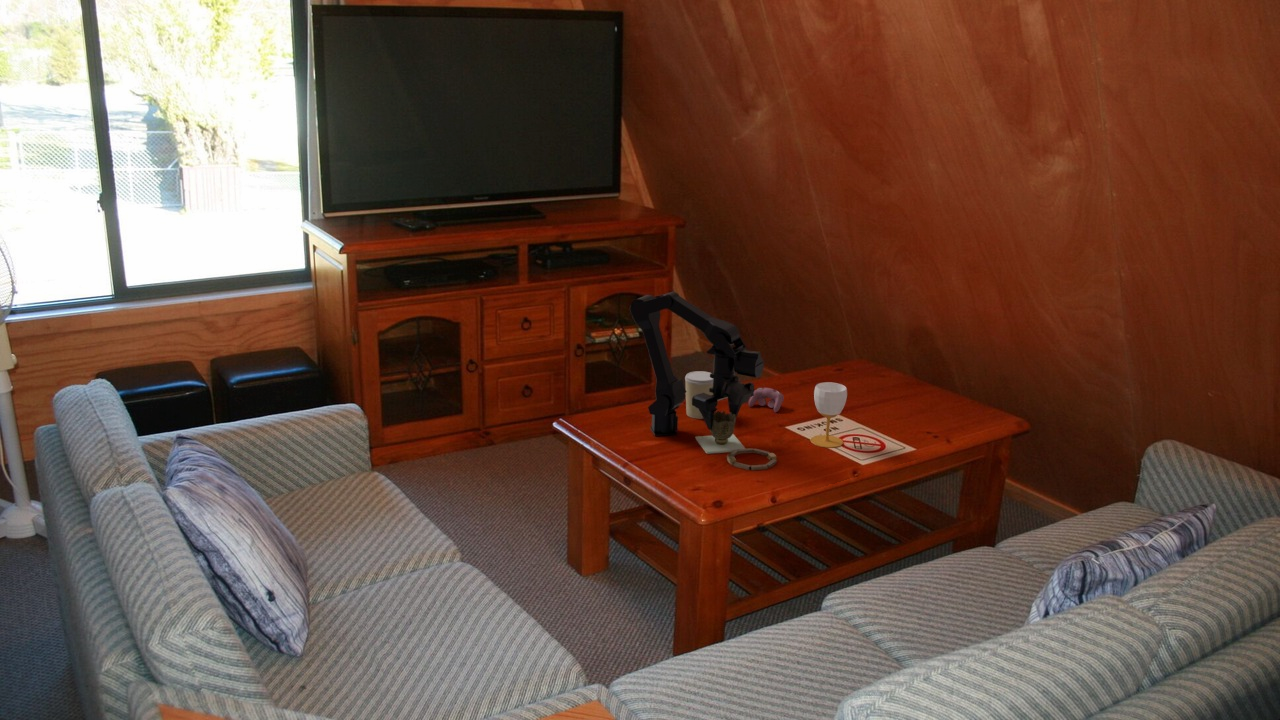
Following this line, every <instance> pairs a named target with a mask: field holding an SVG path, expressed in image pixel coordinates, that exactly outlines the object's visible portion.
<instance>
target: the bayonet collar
mask: <svg viewBox="0 0 1280 720" xmlns="http://www.w3.org/2000/svg"><path fill="white" fill-rule="evenodd" d="M751 453H752V454H758V455H761V456H764V457H765V456H766V458H767V459H768V460H769V461H768V462H767V463H765V464H757V465H756V464H754V465H753V464H752V465H750V464H745V463H742V462H738V461H737V459H736V457H735V456H737V455H739V454H751ZM726 460H727V462H728V463H729V464H730V465H731V466H733V467H735V468H740V469H742V470H743V469H744V470H747V471H750V470H751V471H758V470H759V471H760V470H768V469H771V468H772V467H773V466H775V465H776V464H777V463H778V459H777V455H776V454H775V453H774V452H770V451H768V450H763V449H758V448H752V447H751V448H749V447H748V448H745V449H737V450H734V451H732V452H728V454H727V455H726Z"/></svg>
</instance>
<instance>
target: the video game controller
mask: <svg viewBox="0 0 1280 720" xmlns="http://www.w3.org/2000/svg"><path fill="white" fill-rule="evenodd" d="M766 398H767V399H770V400H769V401H768V402H767V399H766ZM784 400H785V399H784V395H783V394H782V393H781V392H779V391H778V390H776V389H773V388H771V387H758V388H757V389H754V396H752V397H750V398H749V401H748V407H749V408H751V407H753V406H755V404H756V403H757V402H758V405H759V406H761V407H765V406H766V405H767V406H768V408H771V409H773V411H774V412H773V413H777V412H779V410H780V409H781V406H782V404H783V402H784Z"/></svg>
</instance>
